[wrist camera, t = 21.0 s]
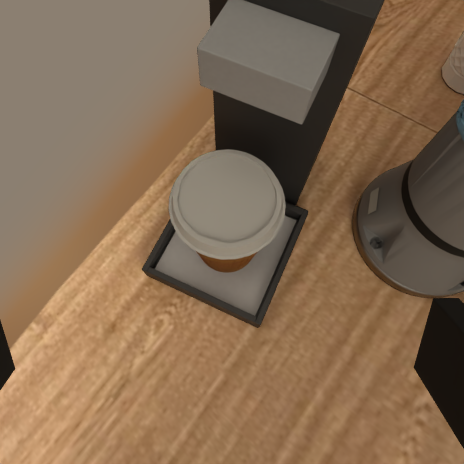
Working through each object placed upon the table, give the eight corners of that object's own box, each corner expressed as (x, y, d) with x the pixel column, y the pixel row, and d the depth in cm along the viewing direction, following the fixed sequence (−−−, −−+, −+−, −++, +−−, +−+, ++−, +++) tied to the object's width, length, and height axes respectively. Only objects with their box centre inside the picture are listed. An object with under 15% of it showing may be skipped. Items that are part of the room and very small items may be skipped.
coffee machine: (329, 160, 46) (445, -73, 22) (258, 328, 39) (313, 259, 15) (232, 121, 47) (240, -134, 23) (146, 275, 40) (30, 135, 16)
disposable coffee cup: (164, 241, 40) (141, 192, 29) (229, 189, 43) (231, 124, 31) (223, 307, 38) (222, 280, 27) (288, 247, 40) (313, 200, 29)
